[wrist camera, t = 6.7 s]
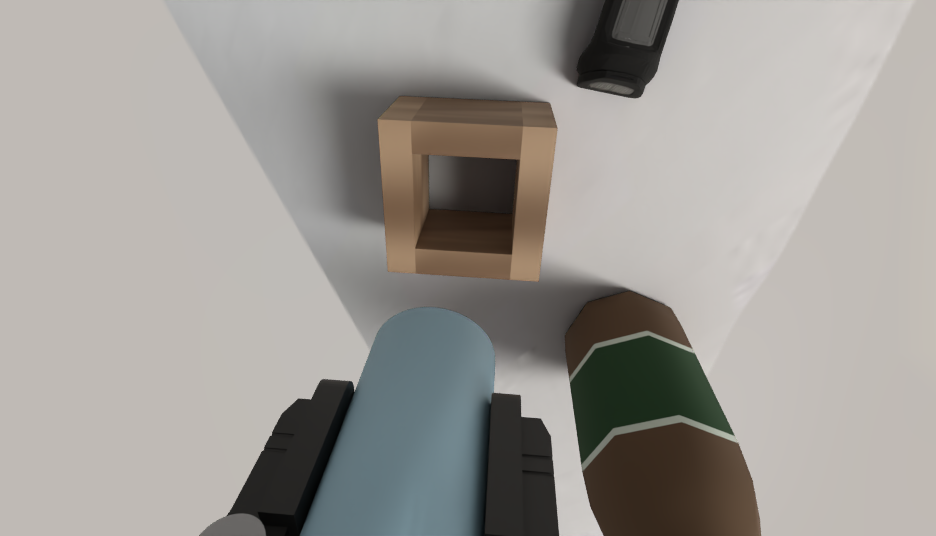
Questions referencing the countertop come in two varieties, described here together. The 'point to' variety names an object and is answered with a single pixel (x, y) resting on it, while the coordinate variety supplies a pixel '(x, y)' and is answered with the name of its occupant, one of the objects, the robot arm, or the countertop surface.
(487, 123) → the socket block
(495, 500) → the robot arm
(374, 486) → the peg
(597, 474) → the beer bottle
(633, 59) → the electric trimmer
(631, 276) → the countertop surface
